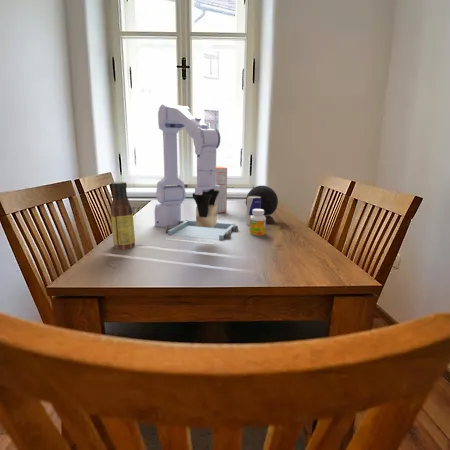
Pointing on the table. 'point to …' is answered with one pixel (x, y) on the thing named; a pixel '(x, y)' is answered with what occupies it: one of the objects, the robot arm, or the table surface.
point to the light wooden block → (210, 219)
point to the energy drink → (252, 206)
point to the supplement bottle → (257, 222)
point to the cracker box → (221, 189)
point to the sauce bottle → (122, 218)
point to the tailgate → (190, 241)
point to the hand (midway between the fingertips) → (206, 215)
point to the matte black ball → (265, 201)
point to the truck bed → (202, 230)
